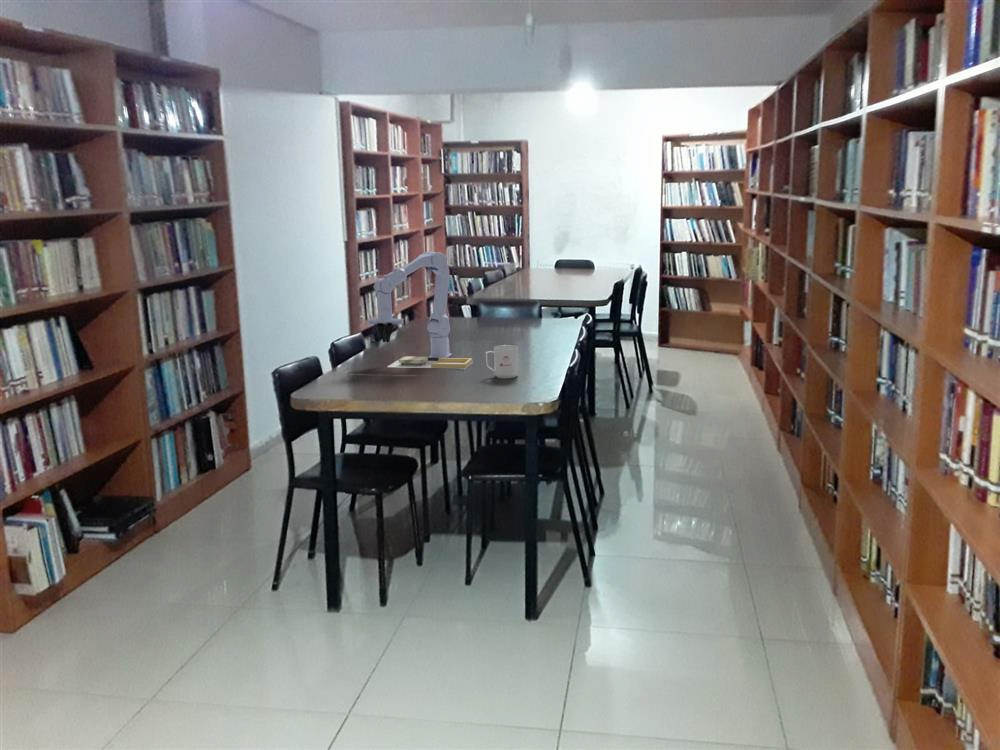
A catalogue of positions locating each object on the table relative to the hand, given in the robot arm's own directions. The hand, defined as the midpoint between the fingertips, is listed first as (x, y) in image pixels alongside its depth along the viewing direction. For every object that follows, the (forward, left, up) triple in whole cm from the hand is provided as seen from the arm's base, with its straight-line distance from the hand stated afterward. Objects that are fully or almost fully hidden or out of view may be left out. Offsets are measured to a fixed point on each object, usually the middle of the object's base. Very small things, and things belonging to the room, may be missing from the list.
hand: (386, 341), depth 354 cm
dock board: (0, +18, -9) cm, 20 cm away
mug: (+18, +51, -10) cm, 55 cm away
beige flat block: (0, +11, -9) cm, 14 cm away
